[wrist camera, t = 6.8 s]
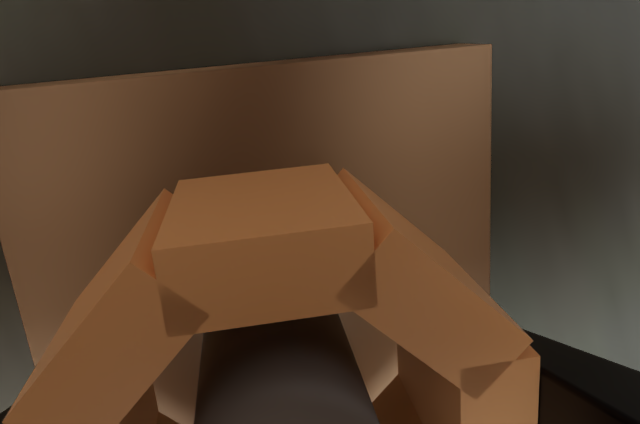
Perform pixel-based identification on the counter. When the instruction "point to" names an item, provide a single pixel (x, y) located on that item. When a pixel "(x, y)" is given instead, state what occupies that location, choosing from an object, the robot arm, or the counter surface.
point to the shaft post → (241, 157)
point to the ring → (282, 302)
